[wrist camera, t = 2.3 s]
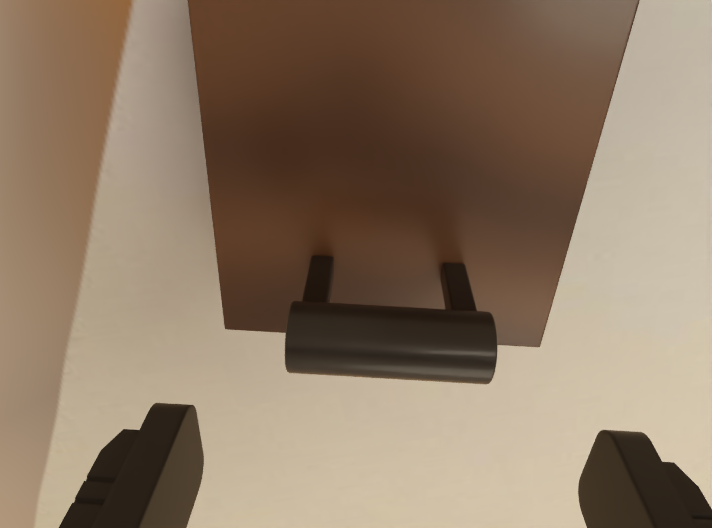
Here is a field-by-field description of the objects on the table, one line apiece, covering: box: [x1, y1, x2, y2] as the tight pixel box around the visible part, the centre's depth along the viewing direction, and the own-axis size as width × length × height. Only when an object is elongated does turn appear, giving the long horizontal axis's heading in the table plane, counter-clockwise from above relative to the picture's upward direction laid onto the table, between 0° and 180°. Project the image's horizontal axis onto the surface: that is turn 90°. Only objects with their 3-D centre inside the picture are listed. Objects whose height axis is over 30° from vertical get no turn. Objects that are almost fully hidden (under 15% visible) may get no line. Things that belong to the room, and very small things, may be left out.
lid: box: [188, 0, 639, 384], centre depth 13 cm, size 11×11×5 cm
